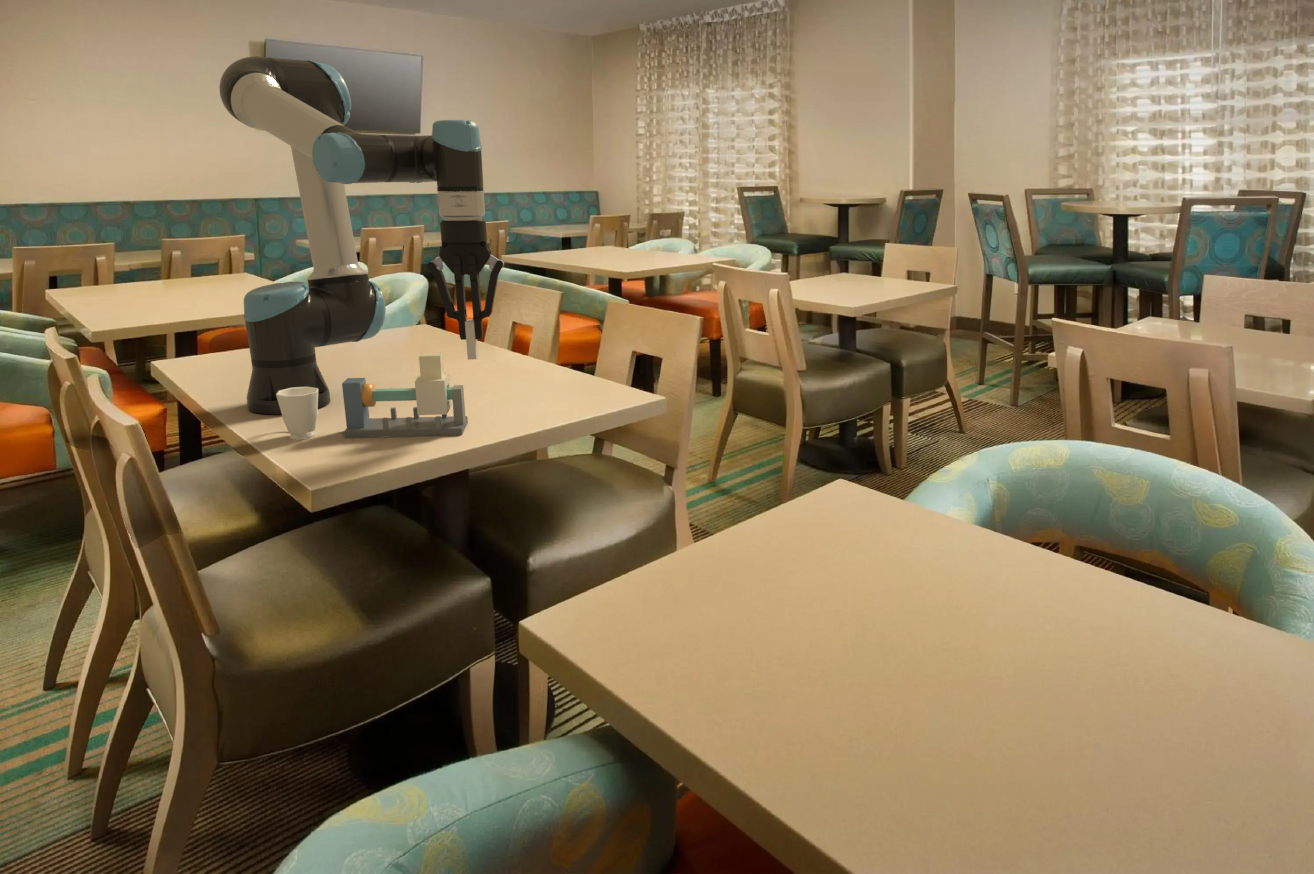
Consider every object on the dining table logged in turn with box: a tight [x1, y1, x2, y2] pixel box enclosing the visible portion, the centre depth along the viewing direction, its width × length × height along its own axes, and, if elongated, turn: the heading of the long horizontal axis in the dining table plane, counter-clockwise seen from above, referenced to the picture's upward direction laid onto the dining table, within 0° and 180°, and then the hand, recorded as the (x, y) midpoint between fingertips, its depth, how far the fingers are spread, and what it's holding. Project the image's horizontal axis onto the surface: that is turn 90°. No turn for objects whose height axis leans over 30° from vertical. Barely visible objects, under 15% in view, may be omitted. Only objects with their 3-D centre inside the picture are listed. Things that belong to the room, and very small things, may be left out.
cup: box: [276, 387, 319, 441], centre depth 152 cm, size 7×10×8 cm
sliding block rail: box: [341, 377, 469, 439], centre depth 154 cm, size 20×8×9 cm, turn 95°
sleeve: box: [414, 352, 453, 416], centre depth 154 cm, size 5×6×10 cm
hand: (472, 357), depth 153 cm, fingers closed
